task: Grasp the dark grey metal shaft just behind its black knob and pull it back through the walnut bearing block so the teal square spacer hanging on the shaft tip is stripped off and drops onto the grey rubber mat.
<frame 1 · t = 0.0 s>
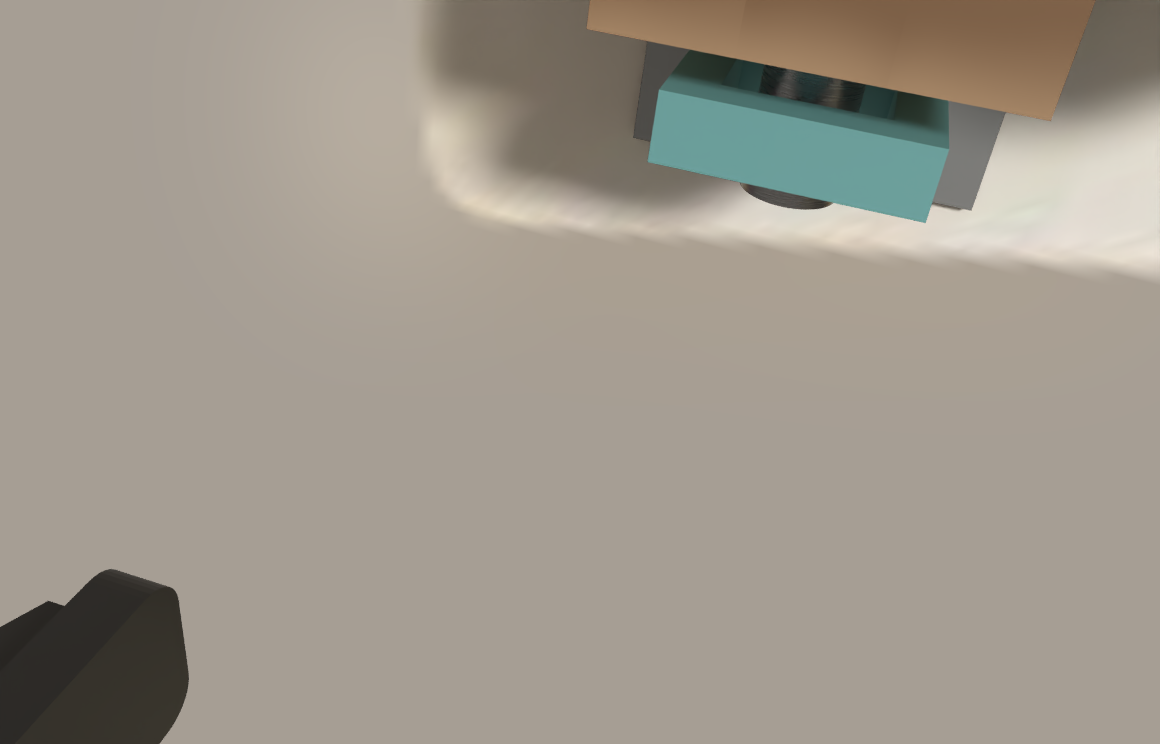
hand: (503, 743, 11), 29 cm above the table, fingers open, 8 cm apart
spacer: (819, 76, 33), point 2 cm above the table, touching shaft
mat: (818, 86, 36), on the table
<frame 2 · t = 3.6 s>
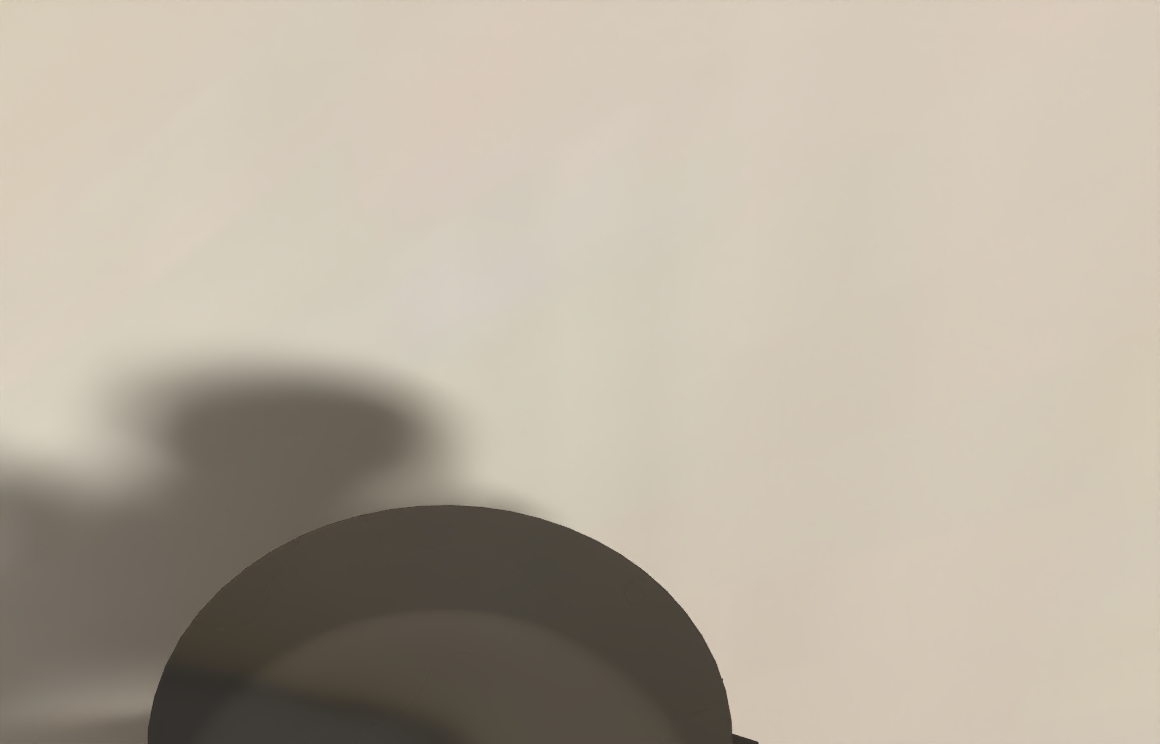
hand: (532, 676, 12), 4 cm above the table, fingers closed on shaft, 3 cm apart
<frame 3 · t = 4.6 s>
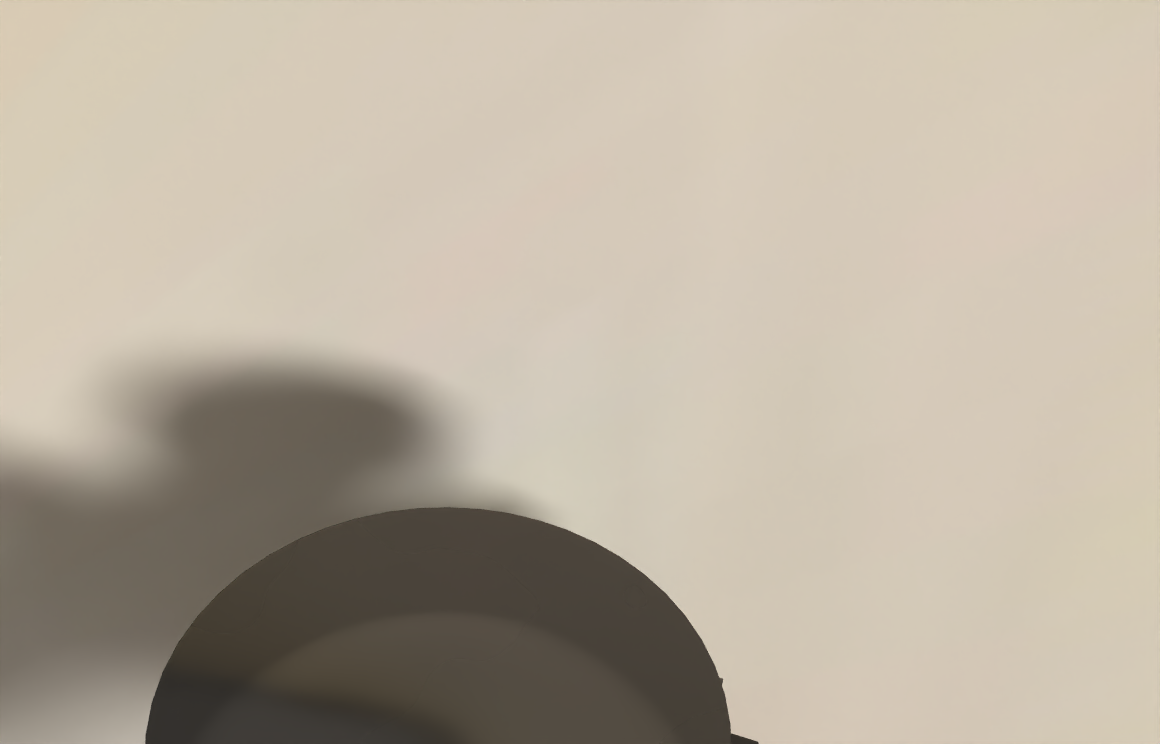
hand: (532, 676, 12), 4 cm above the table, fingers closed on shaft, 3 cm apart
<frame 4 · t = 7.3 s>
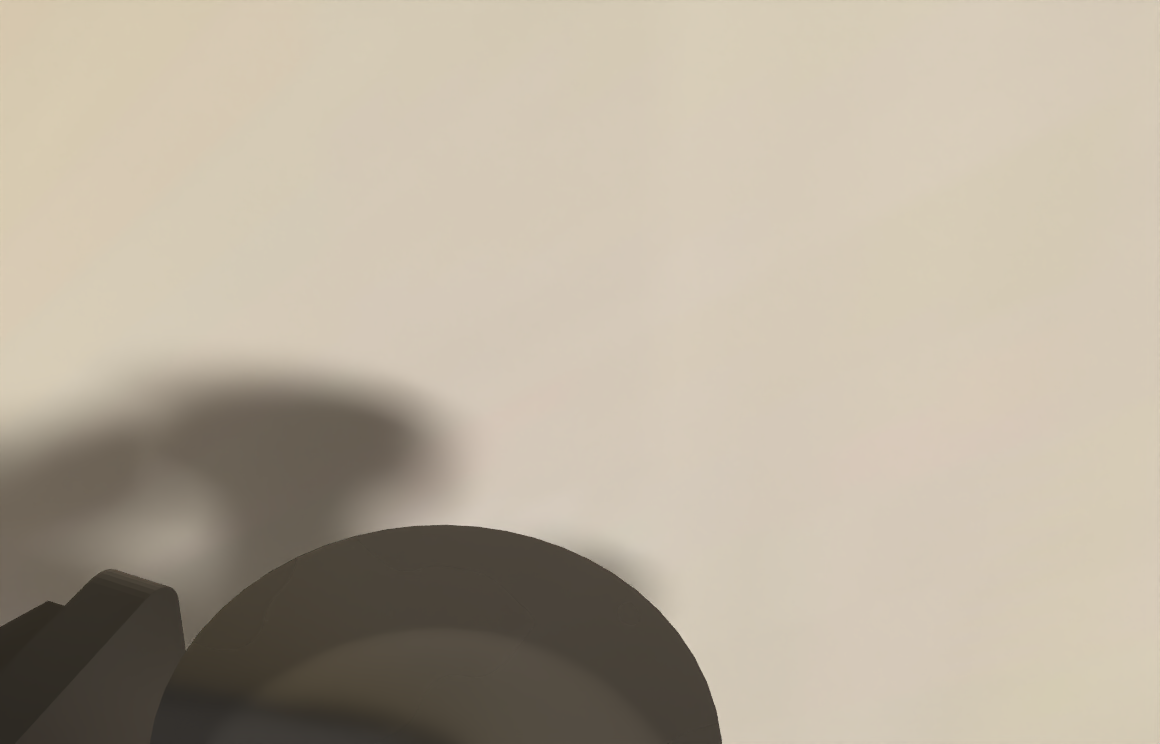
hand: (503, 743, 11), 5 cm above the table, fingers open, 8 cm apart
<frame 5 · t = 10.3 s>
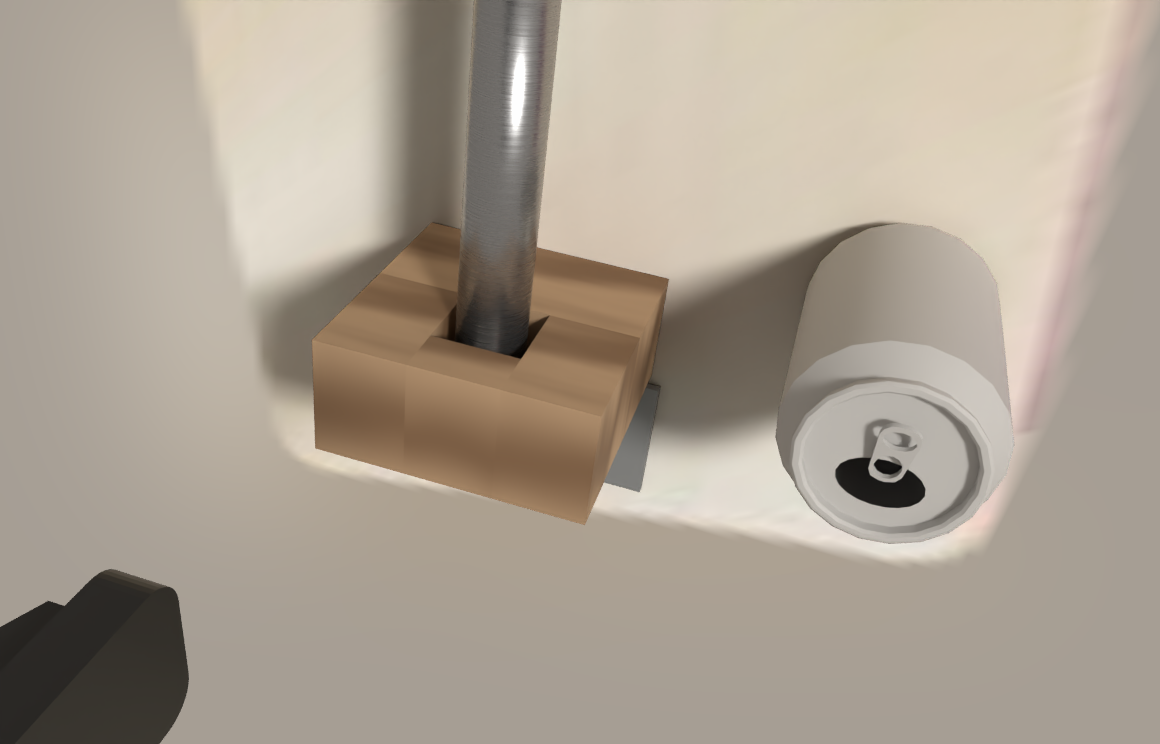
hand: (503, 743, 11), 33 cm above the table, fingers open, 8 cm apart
can: (900, 298, 43), on the table
bearing block: (542, 299, 48), on the table
shaft: (504, 173, 37), point 7 cm above the table, slide at 5.7 cm
mat: (530, 406, 51), on the table
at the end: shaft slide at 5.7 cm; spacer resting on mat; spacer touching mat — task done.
